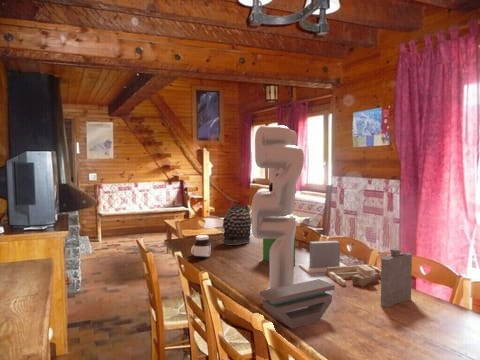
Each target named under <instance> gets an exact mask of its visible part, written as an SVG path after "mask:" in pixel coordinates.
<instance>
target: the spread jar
mask: <svg viewBox="0 0 480 360" xmlns="http://www.w3.org/2000/svg"><path fill="white" fill-rule="evenodd" d="M211 246H212V245H211V241H210V240H209V235H207V234H200V235H199V234H198V235H196V236H195V241H194V243H193V245H192V247H191V249H190V253H191V254H192V255H193V256H194V257H195V258H196V259H199V260H206V259H209V258H210V256H211V253H212V252H211V251H212V250H211V249H212V248H211Z"/></svg>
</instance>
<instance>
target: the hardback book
mask: <svg viewBox="0 0 480 360" xmlns="http://www.w3.org/2000/svg"><path fill="white" fill-rule="evenodd" d="M293 218H294V219H295V220H296V217H293ZM275 241H276V239H262V259H263V261H265V262H268V263H270V248H271V246H272V244H273V243H274V242H275ZM294 266H296V237H295V238H294Z"/></svg>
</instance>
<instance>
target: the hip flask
mask: <svg viewBox="0 0 480 360" xmlns="http://www.w3.org/2000/svg"><path fill="white" fill-rule="evenodd" d="M389 252H390V254H389V255H385V256H383V257H381V258H380V259H381V264H380V265H381V267H380V269H381V279H380V307H382V308H390V307H393V306H394V305H397V304H399V303H404V302H409V301H411V300H412V269H413V268H412V266H413V264H412V263H413V261H412V260H413V257H412V256H413V254H412V253H411V252H402V251H401V249H400V248H395V247H394V248H390V249H389Z"/></svg>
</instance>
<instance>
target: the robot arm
mask: <svg viewBox="0 0 480 360" xmlns="http://www.w3.org/2000/svg"><path fill="white" fill-rule="evenodd" d="M254 136H255V137H254V161H255V165H256V166H257V167H259V168H260V169H268V183H269V184H268V191H258V192H256V193H255V194H254V195H253V197H252V200H251V234H252V236H253V237H254V238H256V239H260V240H261V239H262V240H263V239H276V241H275V242H274V243H273V244H272V246H271V248H270V262H269V287H267V288H266V289H265V290H268V289H273V288H278V287H283V286H288V285H292V284H295V283H294V282H295V281H294V279H295V278H294V274H295V273H294V271H295V270H294V266H295V265H294V238H295V239H296V231H297V221H296V218H295V217H294V216H292V214H293V212H294V208H295V200H296V197H295V196H296V189H297V184H298V181H299V178H300V177H301V174H302V172H303V167H304V161H305V156H304V155H305V154H304V150H303V149H302V148H301V147H299V146H297V145H298V136H297V132H296V131H295V130H293V129H291V128H289V127H288V126H285V125H260V126H259V127H257V129H256V132H255V134H254ZM294 218H295V219H294Z"/></svg>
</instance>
